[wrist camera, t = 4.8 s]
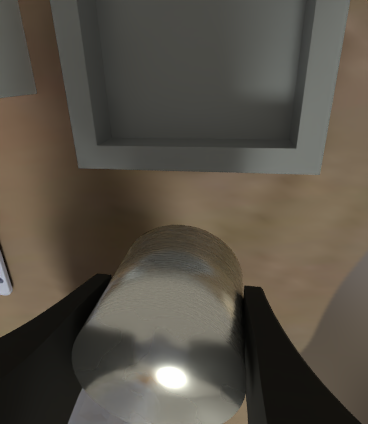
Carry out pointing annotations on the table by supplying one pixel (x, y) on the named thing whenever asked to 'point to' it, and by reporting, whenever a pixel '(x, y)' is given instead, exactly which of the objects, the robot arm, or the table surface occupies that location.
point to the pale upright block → (14, 53)
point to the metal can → (168, 332)
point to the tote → (200, 82)
